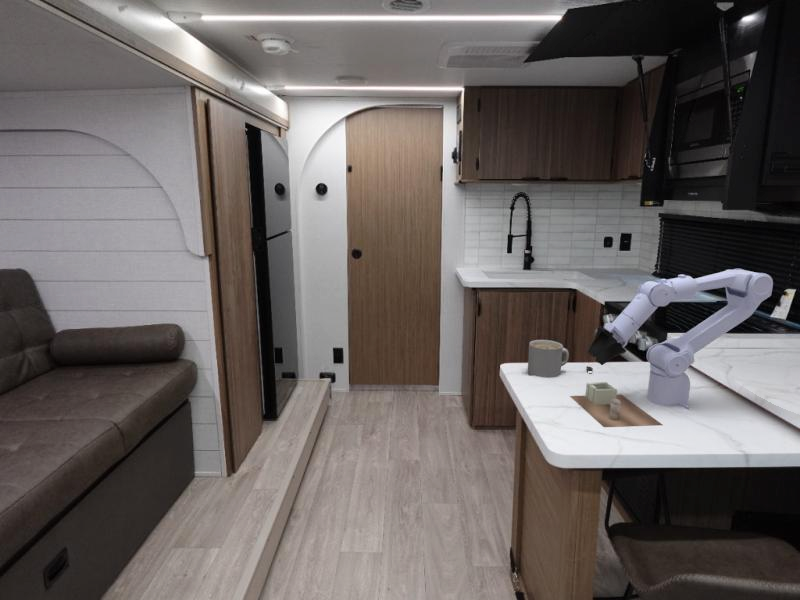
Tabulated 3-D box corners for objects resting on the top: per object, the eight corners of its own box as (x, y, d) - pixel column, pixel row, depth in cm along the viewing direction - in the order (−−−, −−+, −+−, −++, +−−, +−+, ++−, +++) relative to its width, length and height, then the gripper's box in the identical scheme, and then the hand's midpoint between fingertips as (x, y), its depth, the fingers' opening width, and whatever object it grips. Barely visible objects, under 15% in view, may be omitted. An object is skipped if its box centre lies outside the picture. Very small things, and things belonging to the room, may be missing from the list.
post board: (621, 397, 139) (623, 377, 138) (662, 428, 121) (665, 405, 119) (569, 399, 138) (571, 378, 136) (603, 431, 119) (605, 407, 118)
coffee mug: (535, 381, 151) (537, 349, 149) (522, 370, 161) (524, 340, 159) (576, 379, 153) (579, 348, 151) (561, 368, 163) (564, 339, 161)
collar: (604, 396, 138) (606, 382, 137) (615, 404, 132) (616, 390, 132) (585, 396, 137) (586, 382, 136) (595, 404, 132) (596, 390, 131)
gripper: (624, 320, 138) (590, 357, 140) (611, 301, 127) (575, 341, 129) (645, 335, 134) (610, 373, 135) (634, 317, 123) (596, 358, 124)
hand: (594, 358), depth 132 cm, fingers open, 7 cm apart
